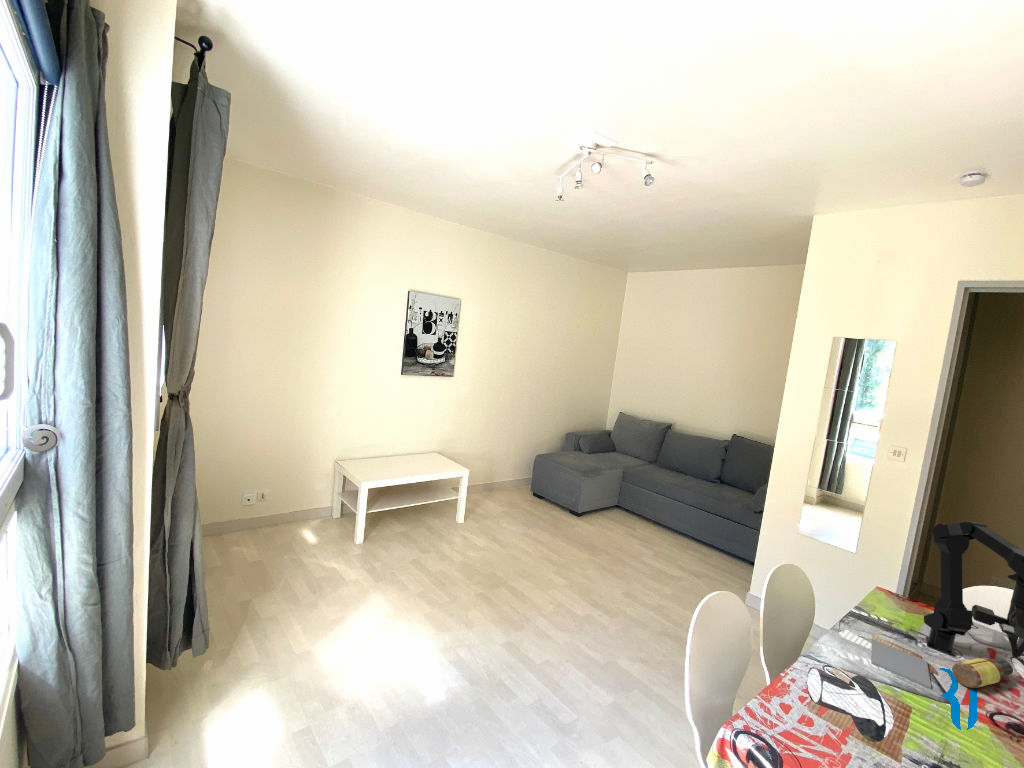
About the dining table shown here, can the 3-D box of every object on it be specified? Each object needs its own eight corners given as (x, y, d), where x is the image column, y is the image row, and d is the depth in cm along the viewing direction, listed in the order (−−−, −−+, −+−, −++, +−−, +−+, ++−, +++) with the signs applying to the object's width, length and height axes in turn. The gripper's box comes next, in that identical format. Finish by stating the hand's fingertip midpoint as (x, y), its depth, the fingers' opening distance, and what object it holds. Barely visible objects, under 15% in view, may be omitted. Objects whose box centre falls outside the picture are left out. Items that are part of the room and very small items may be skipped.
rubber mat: (872, 640, 144) (872, 639, 144) (926, 662, 136) (926, 661, 136) (871, 663, 133) (871, 661, 133) (930, 688, 125) (931, 686, 125)
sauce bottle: (975, 693, 124) (1020, 686, 130) (979, 671, 124) (1023, 665, 130) (947, 677, 131) (990, 670, 137) (950, 656, 130) (993, 650, 136)
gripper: (983, 598, 122) (971, 652, 123) (1092, 633, 110) (1077, 692, 111) (976, 584, 130) (965, 635, 132) (1077, 615, 119) (1063, 670, 120)
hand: (1014, 657), depth 123 cm, fingers closed
